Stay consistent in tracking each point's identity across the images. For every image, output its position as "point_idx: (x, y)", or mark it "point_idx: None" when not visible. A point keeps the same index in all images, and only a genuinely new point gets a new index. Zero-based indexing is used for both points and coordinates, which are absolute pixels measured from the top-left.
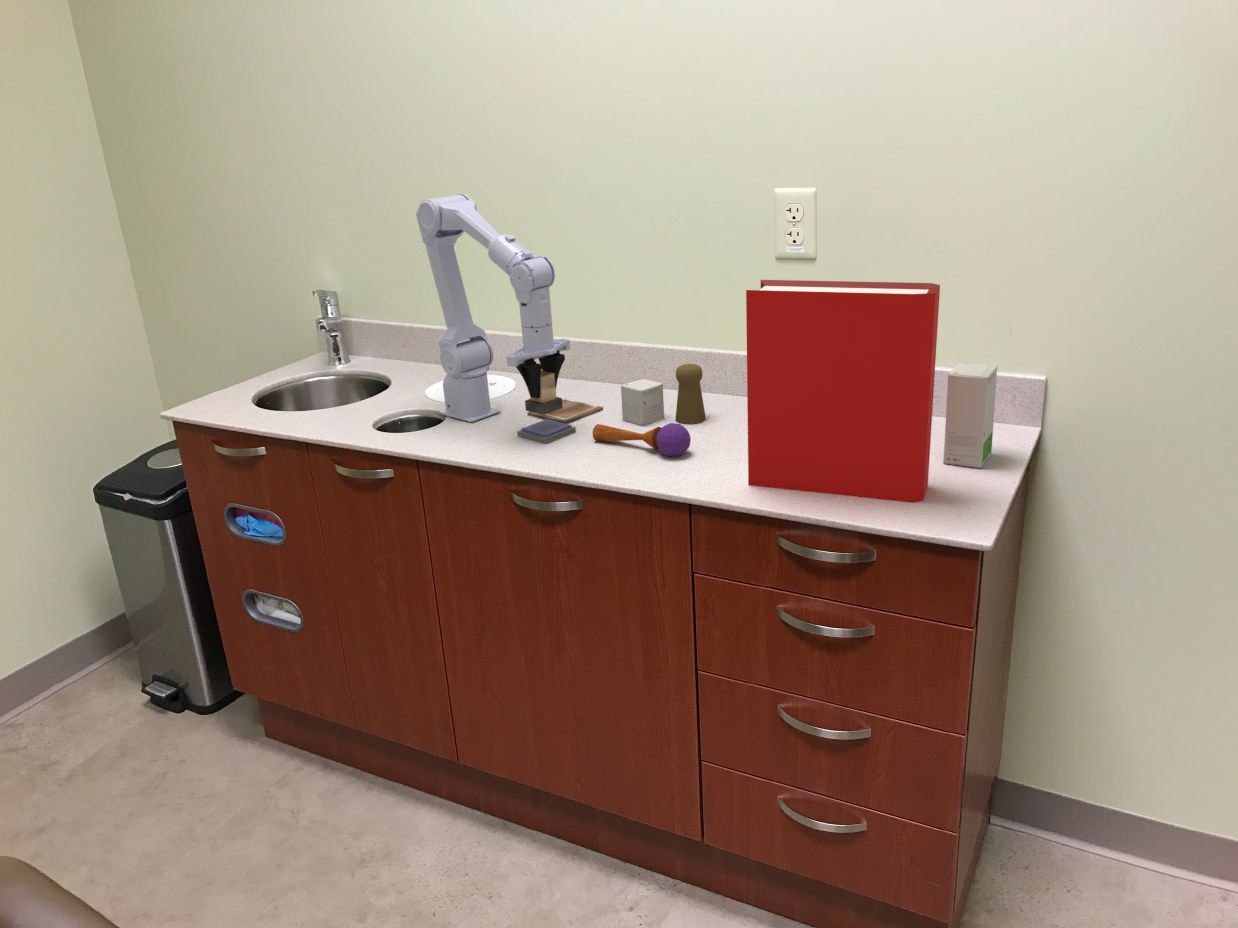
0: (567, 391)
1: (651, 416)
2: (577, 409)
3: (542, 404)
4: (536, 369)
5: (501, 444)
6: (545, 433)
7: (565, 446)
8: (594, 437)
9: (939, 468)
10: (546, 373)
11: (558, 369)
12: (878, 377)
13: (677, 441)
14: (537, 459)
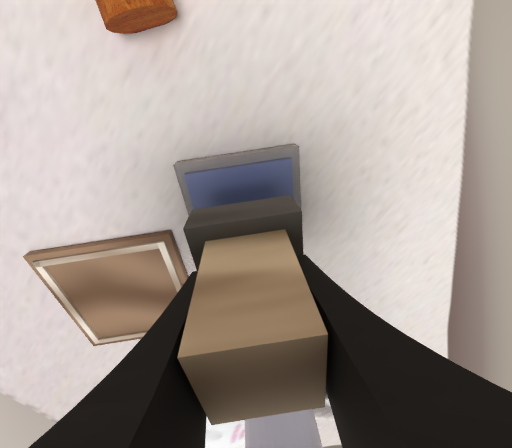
0: (70, 374)
1: None
2: (98, 282)
3: (298, 216)
4: (502, 425)
5: (355, 226)
6: (282, 170)
7: (271, 76)
8: (173, 3)
9: None
10: (227, 378)
11: (119, 386)
12: None
13: None
14: (400, 46)
